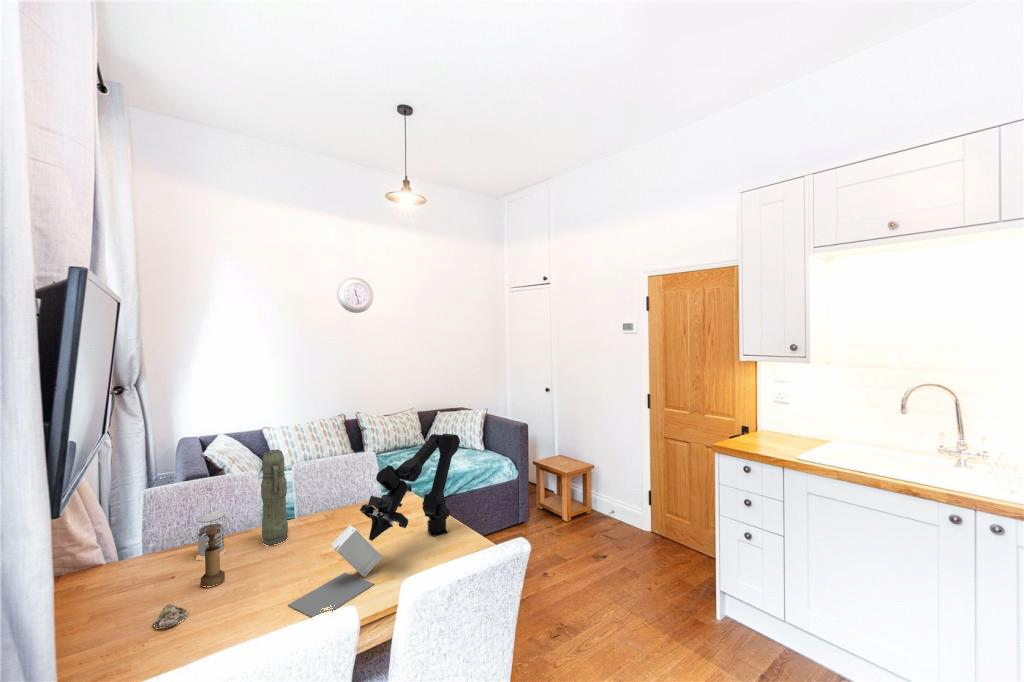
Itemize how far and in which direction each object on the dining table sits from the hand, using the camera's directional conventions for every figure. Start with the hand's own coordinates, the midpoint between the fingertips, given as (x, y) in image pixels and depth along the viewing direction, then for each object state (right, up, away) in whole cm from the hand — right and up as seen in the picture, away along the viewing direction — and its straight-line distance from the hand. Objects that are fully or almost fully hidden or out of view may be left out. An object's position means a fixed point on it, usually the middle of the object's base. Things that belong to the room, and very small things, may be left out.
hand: (370, 540), depth 146 cm
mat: (-7, -11, -13) cm, 18 cm away
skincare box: (0, -9, 0) cm, 9 cm away
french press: (-63, -12, +16) cm, 66 cm away
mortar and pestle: (-49, -12, -4) cm, 51 cm away
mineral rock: (-49, -12, -23) cm, 55 cm away
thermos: (-45, -12, +25) cm, 53 cm away
